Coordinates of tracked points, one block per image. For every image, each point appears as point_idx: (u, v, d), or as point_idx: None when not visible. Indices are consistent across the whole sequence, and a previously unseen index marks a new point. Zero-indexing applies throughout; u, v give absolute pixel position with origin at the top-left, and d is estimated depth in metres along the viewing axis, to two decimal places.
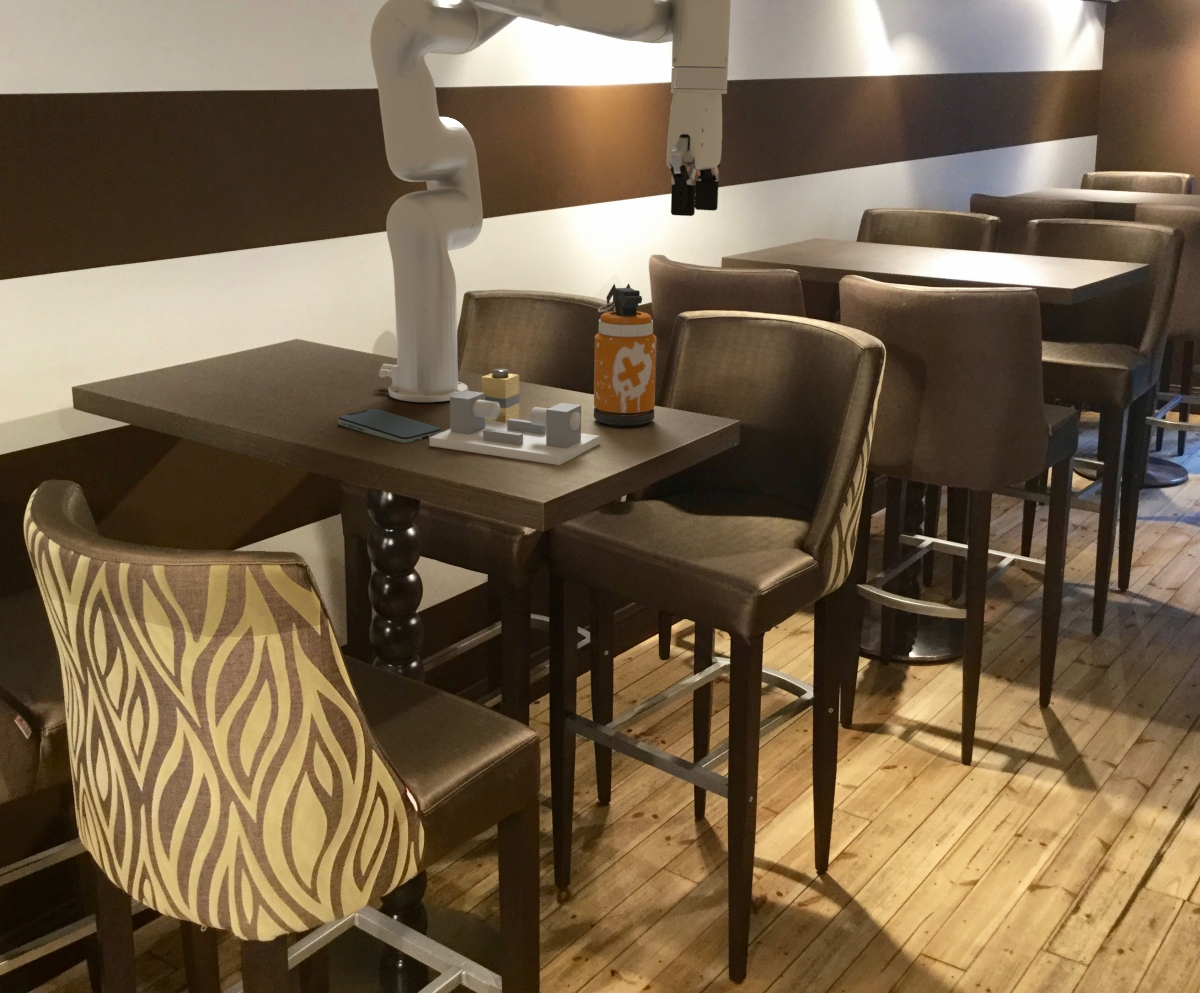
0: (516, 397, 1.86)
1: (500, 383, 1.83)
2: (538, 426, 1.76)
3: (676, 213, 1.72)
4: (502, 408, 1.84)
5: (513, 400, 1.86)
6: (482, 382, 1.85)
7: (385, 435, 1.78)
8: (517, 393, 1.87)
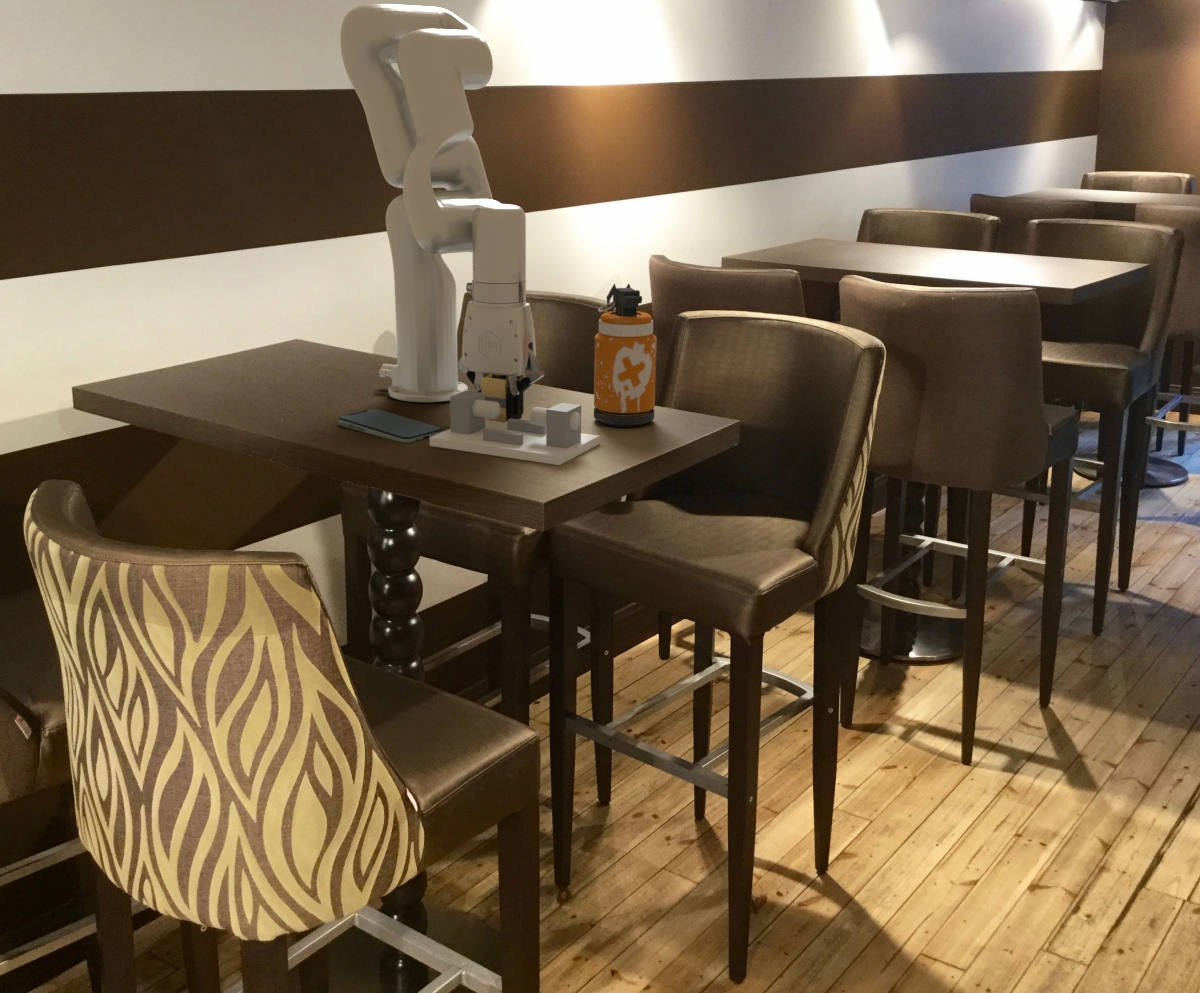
0: None
1: (500, 383, 1.83)
2: (538, 426, 1.76)
3: None
4: (502, 408, 1.84)
5: None
6: (482, 382, 1.84)
7: (386, 435, 1.78)
8: None
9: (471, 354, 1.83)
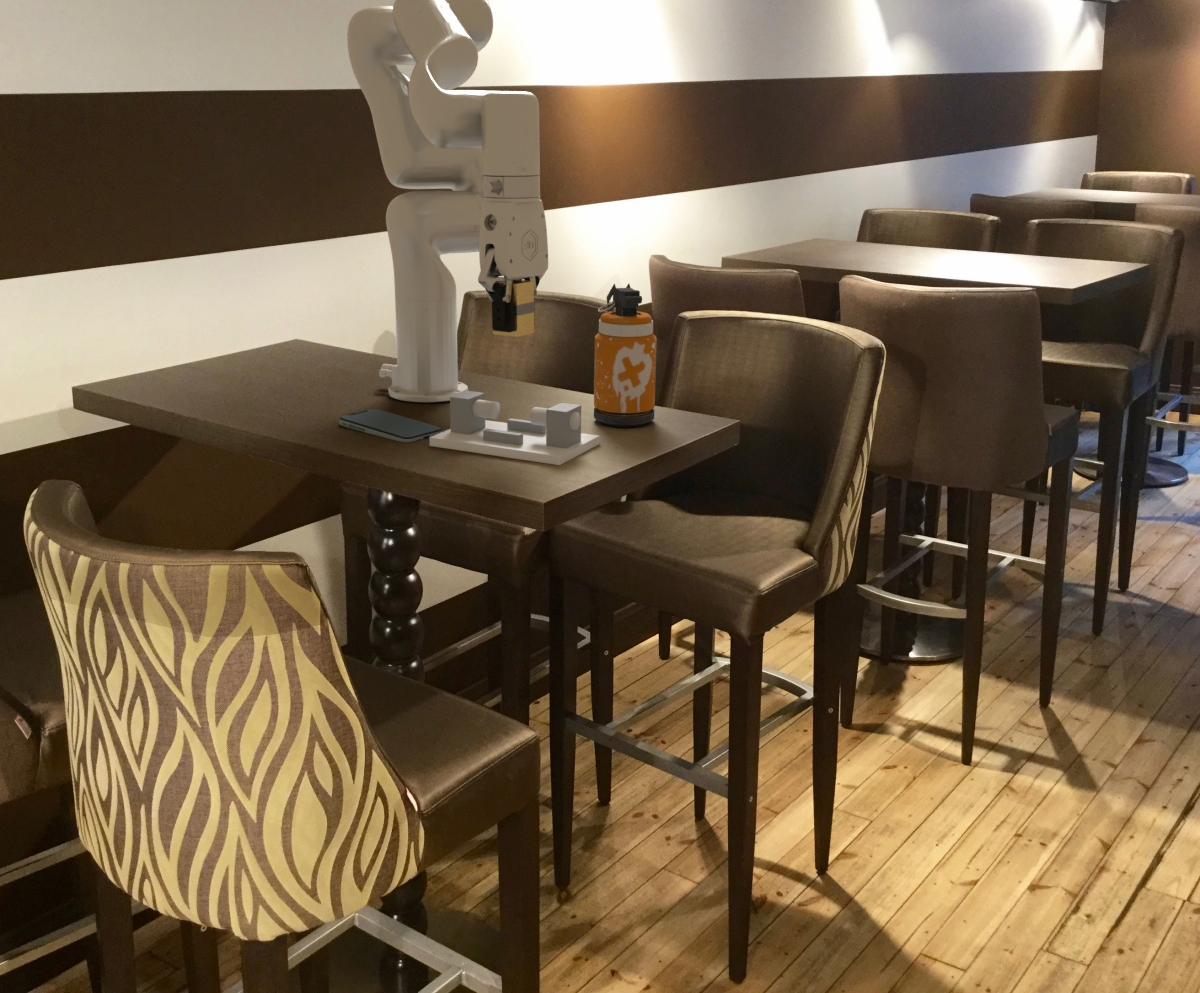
0: None
1: (530, 285, 1.71)
2: (538, 426, 1.76)
3: None
4: (531, 313, 1.72)
5: None
6: (517, 289, 1.68)
7: (386, 435, 1.78)
8: None
9: (515, 260, 1.66)
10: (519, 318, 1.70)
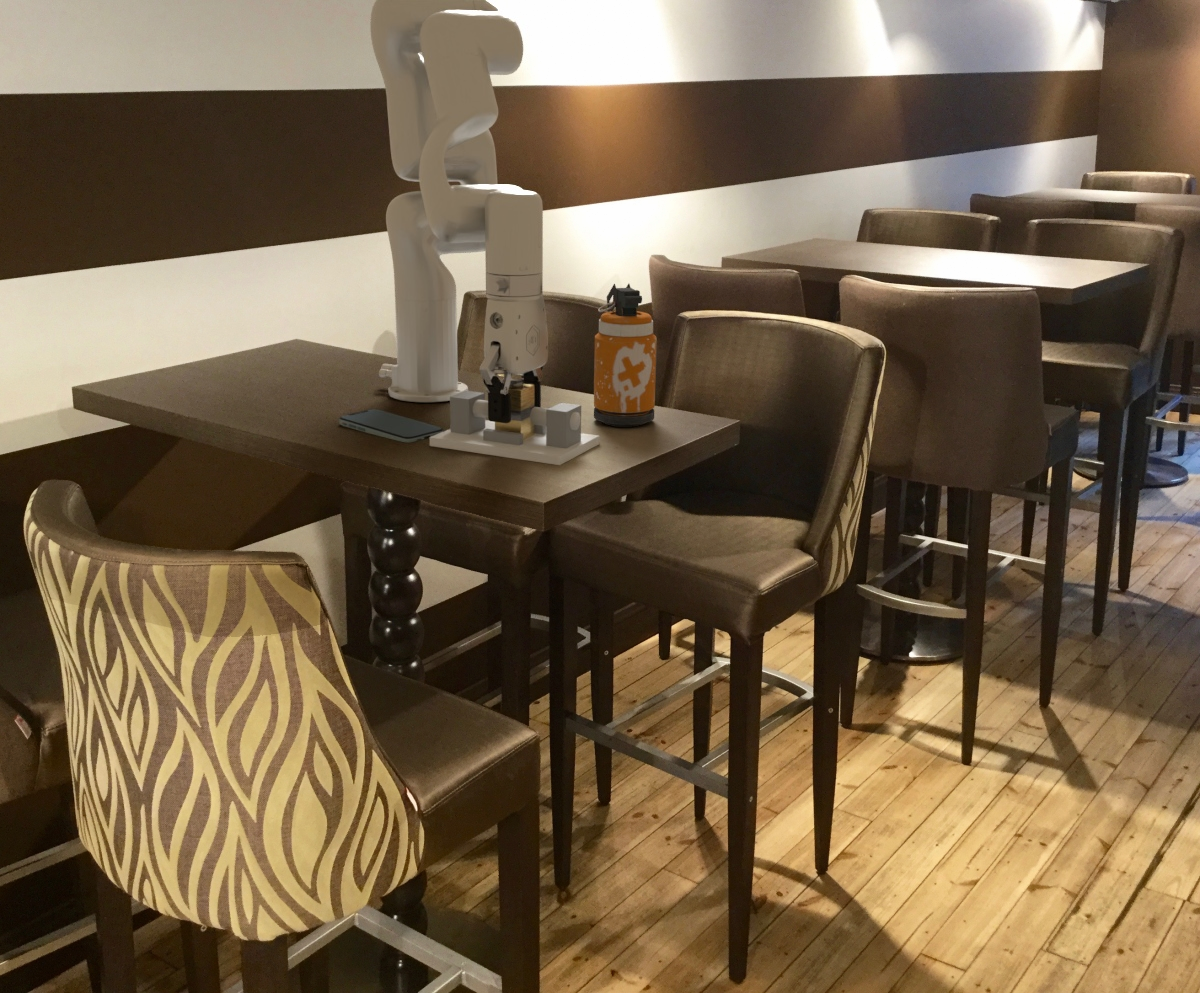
0: None
1: (531, 390, 1.74)
2: (538, 426, 1.76)
3: None
4: None
5: None
6: (521, 396, 1.71)
7: (387, 435, 1.78)
8: None
9: (521, 356, 1.68)
10: (522, 423, 1.72)
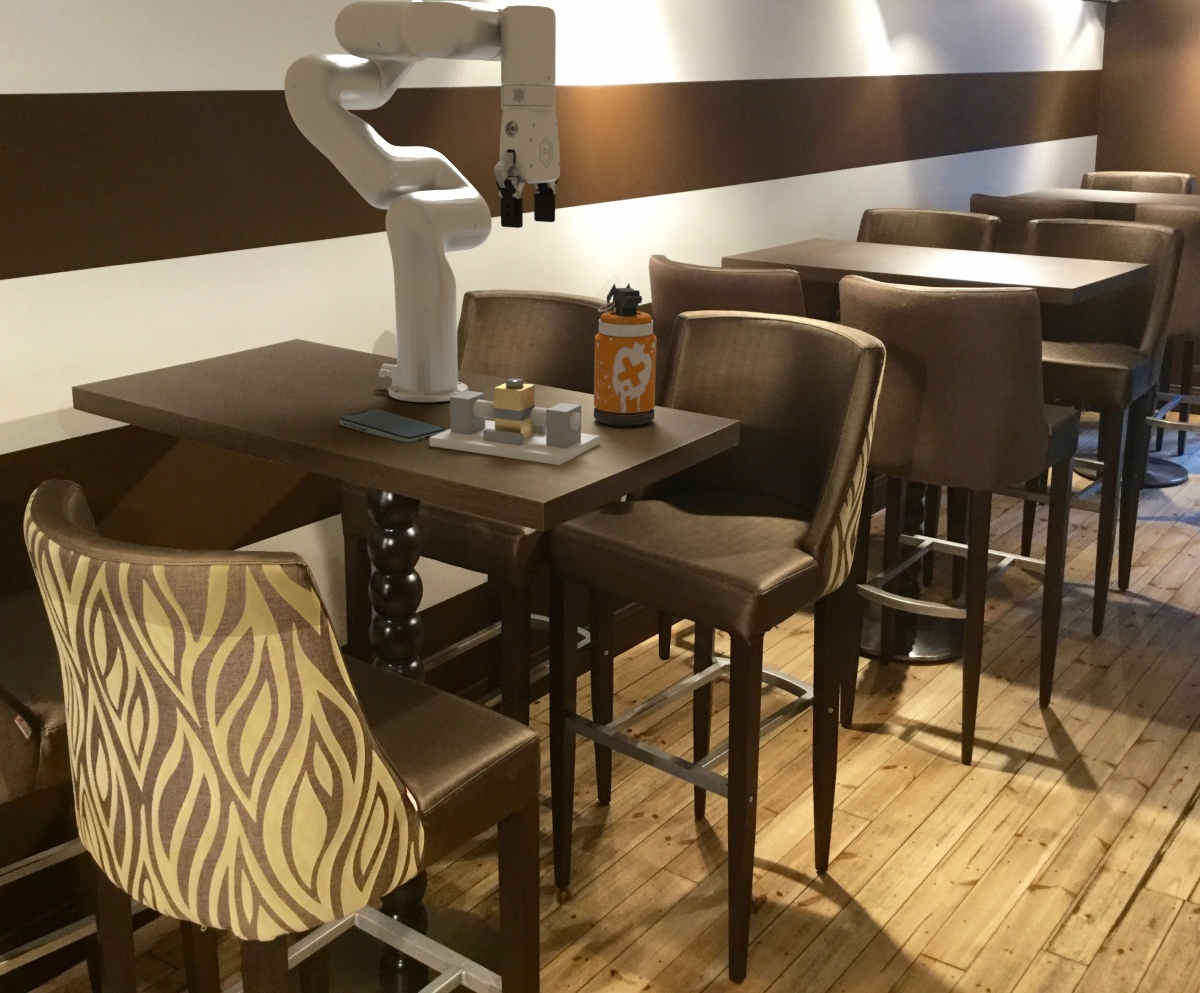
0: None
1: (531, 390, 1.74)
2: (538, 426, 1.76)
3: None
4: None
5: None
6: (521, 396, 1.71)
7: (388, 435, 1.78)
8: None
9: (535, 165, 1.76)
10: (522, 423, 1.72)
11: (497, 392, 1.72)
